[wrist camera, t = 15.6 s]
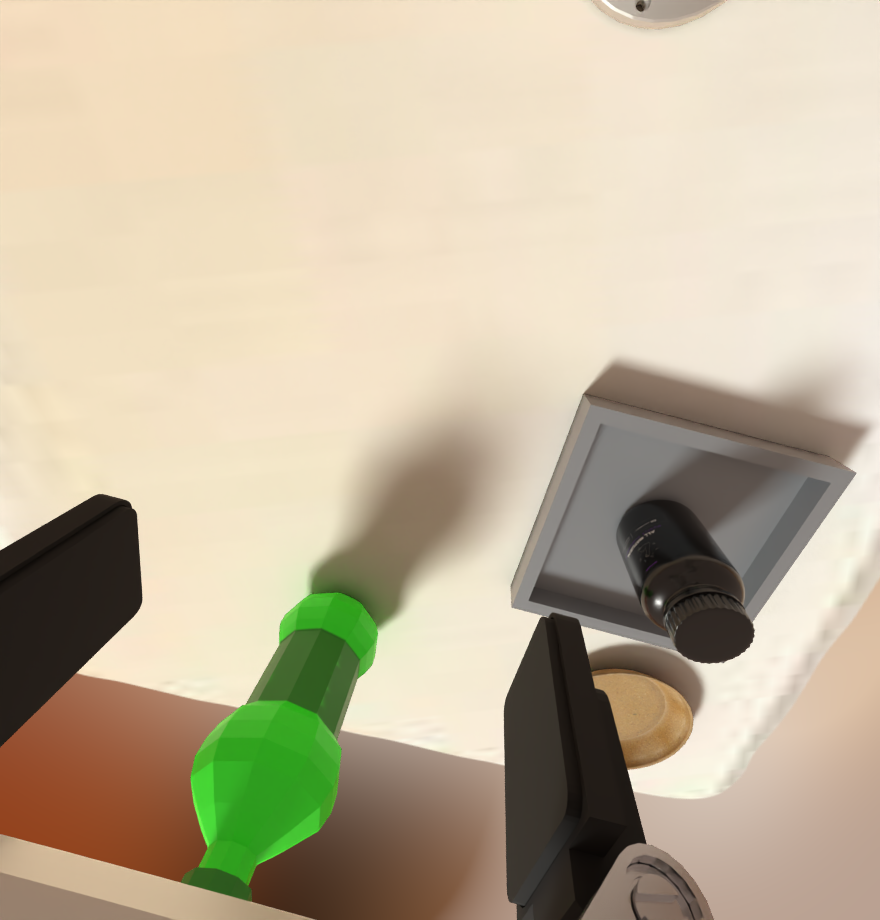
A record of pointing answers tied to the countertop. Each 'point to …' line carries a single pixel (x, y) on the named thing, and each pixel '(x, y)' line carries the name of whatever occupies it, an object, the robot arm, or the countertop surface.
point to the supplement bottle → (685, 581)
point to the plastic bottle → (280, 745)
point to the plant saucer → (645, 715)
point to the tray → (669, 478)
